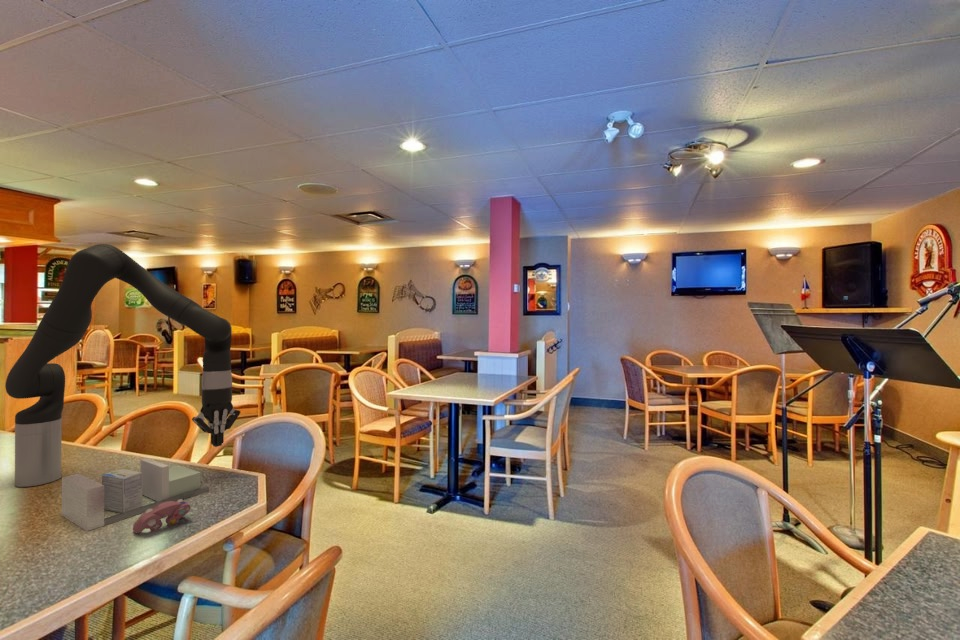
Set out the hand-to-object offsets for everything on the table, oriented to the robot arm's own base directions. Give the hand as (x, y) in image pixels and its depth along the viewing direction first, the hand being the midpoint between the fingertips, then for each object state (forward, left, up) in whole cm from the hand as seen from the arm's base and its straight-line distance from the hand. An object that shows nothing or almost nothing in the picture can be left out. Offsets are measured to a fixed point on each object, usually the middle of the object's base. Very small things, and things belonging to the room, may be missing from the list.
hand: (217, 445), depth 124 cm
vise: (0, -19, -10) cm, 21 cm away
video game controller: (+19, -22, -10) cm, 31 cm away
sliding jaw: (0, -12, -9) cm, 15 cm away
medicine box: (0, -22, -10) cm, 24 cm away
